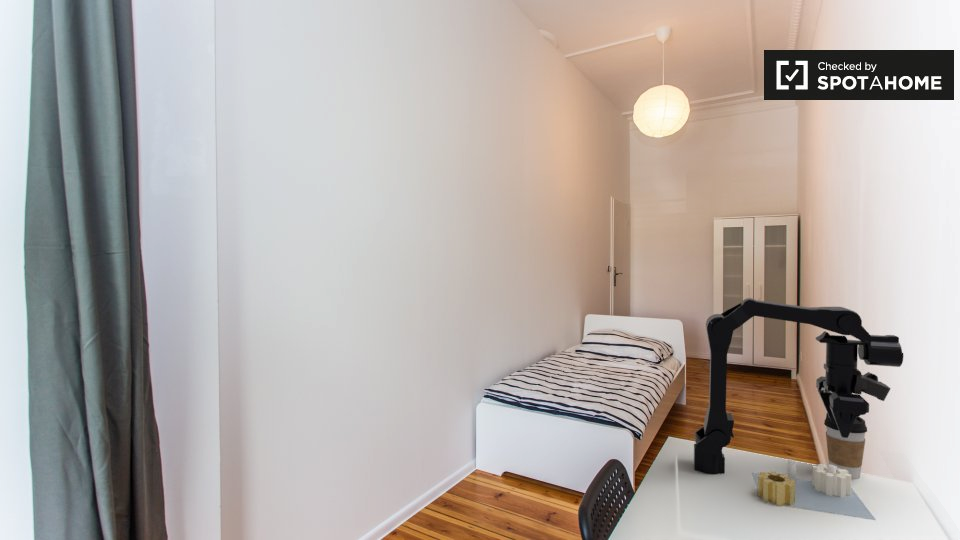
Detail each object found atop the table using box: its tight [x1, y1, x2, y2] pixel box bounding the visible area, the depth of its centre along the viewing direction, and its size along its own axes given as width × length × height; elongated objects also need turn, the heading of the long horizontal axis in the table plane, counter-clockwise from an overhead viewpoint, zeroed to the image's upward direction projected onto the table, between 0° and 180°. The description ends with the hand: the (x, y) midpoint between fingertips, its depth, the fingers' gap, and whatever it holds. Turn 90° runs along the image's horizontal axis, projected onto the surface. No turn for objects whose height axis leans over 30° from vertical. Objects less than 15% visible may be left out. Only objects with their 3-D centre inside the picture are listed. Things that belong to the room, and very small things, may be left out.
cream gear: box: [812, 463, 852, 498], centre depth 109 cm, size 7×7×4 cm
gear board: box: [751, 459, 876, 521], centre depth 108 cm, size 20×15×6 cm
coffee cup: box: [823, 412, 868, 480], centre depth 117 cm, size 8×8×15 cm
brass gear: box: [757, 470, 795, 507], centre depth 106 cm, size 7×7×4 cm
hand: (839, 430), depth 110 cm, fingers open, 9 cm apart
